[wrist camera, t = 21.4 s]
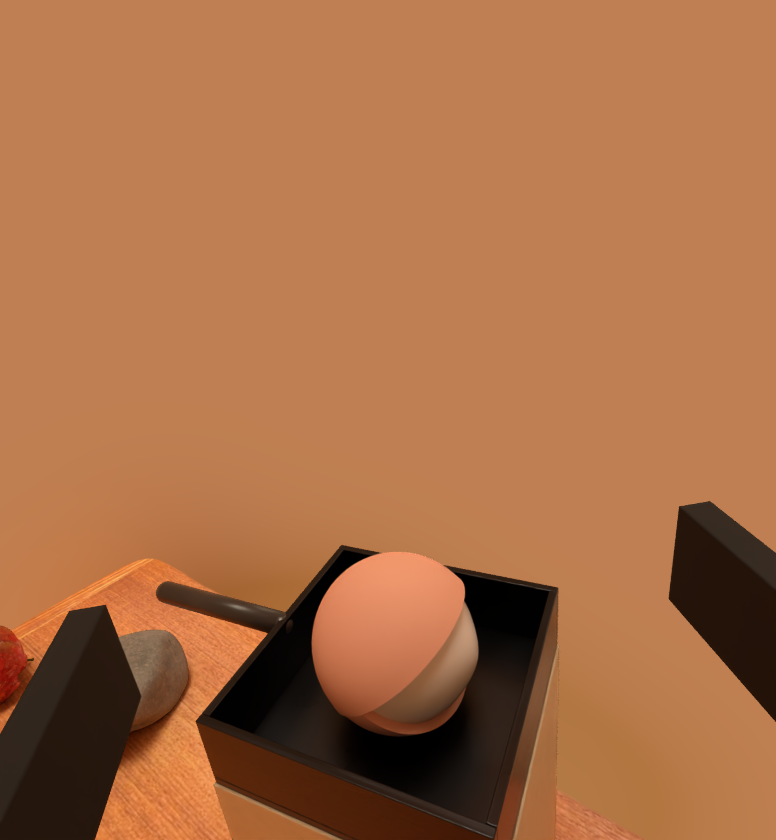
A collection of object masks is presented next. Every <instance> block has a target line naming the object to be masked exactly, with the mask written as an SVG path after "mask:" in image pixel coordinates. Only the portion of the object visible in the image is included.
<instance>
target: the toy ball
mask: <svg viewBox="0 0 776 840" xmlns="http://www.w3.org/2000/svg"><path fill="white" fill-rule="evenodd" d="M464 598H465V588H464V584H463V582H462V581H461V579H460V578H458V577H457V576H456V575H455V574H454V573H453V572H451V571H450V570H449V569H448V568H446V567H445V566H443V565H442V564H440V563H438V562H436V561H435V560H432V559H430V558H428V557H425V556H422V555H418V554H414V553H409V552H387V553H381V554H377V555H373V556H370V557H368V558H365V559H363V560H361V561H359V562H357V563H356V564H354V565H352V566H351V567H350V568H348V569H347V570H346V571H344V572H343V573H342V574H341V575H340V576H339V577H338V578H337V579H336V580H335V581H334V583H333V584H332V585H331V586H330V588H329V589H328V591H327V592H326V594H325V596H324V598H323V599H322V601H321V604H320V606H319V608H318V611H317V614H316V617H315V621H314V626H313V633H312V655H313V662H314V667H315V671H316V674H317V677H318V680H319V682H320V685H321V687H322V689H323V691H324V693H325V695H326V696H327V698H328V699H329V701H330V702H331V704H332V705H333V706H334V708H335V709H336V710H337V712H338V713H339V714H341V715H342V716H345V717H347V718H348V719H350V720H351V721H352V722H354V723H355V724H357V725H359V726H360V727H362V728H364V729H366V730H369V731H371V732H374V733H377V734H381V735H386V736H395V737H402V736H412V735H418V734H422V733H425V732H429V731H431V730H434V729H436V728H438V727H439V726H441V725H442V724H444V723H445V722H446V721H447V720H448V719H449V718H450V717H451V716H452V715H453V714H454V713H455V711H456V710H457V708H458V706H459V705H460V703H461V701H462V698H463V696H464V693H465V689H466V686H467V684H468V683H469V681H470V679H471V677H472V676H473V673H474V671H475V669H476V666H477V662H478V656H479V646H478V639H477V634H476V630H475V626H474V623H473V620H472V617H471V614H470V611H469V609H468V607H467V605H466V603H465V601H464Z"/></svg>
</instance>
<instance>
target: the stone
mask: <svg viewBox="0 0 776 840" xmlns="http://www.w3.org/2000/svg"><path fill="white" fill-rule="evenodd" d="M119 640H120V642H121V645H122V648H123V650H124V653H125V655H126V658H127V660H128V663H129V665H130V668H131V670H132V673H133V676H134V678H135V681H136V683H137V686H138V688H139V691H140V693H141V696H142V697H141V700H140V703H139V706H138V709H137V712H136V715H135V718H134V721H133V724H132V727H131V730H130V732H131V731H135V730H138V729H141V728H144V727H146V726H148V725H150V724H152V723H154V722H156V721H157V720H159V719H160V718H162V717H163V716H165V715H166V714H167V713H168V712H170V711H171V710H172V708H173V707H174V706H175V705H176V703H177V702H178V700H179V699H180V697H181V695H182V693H183V691H184V689H185V687H186V685H187V682H188V678H189V669H188V663H187V659H186V656H185V654H184V651H183V648H182V646H181V645H180V643H179V641H178V640H177V638H176V637H175V636H174V635H172V634H171V633H170V632H168V631H165V630H145V631H139V632H135V633H131V634H127V635H124V636H121V637H119Z"/></svg>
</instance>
